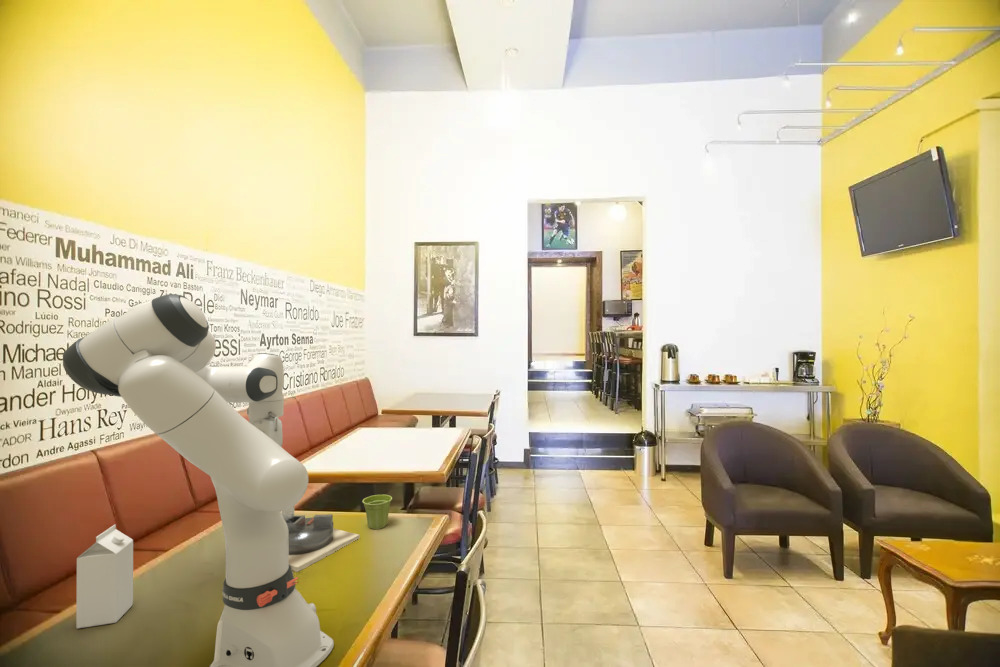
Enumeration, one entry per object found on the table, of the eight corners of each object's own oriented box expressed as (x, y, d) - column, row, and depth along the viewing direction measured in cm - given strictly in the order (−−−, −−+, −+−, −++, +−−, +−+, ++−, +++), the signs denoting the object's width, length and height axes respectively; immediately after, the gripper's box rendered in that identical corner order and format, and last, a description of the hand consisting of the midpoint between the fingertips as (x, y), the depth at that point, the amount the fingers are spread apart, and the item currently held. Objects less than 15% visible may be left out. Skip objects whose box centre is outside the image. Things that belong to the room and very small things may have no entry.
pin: (290, 530, 129) (290, 503, 130) (279, 530, 130) (279, 503, 130) (296, 526, 133) (296, 499, 133) (285, 526, 133) (285, 499, 133)
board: (359, 538, 136) (359, 534, 136) (297, 571, 117) (297, 566, 117) (310, 526, 146) (310, 522, 146) (245, 554, 127) (245, 549, 127)
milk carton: (75, 629, 94) (76, 539, 94) (96, 610, 101) (96, 526, 101) (115, 623, 96) (116, 535, 96) (133, 605, 103) (133, 522, 103)
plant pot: (360, 523, 148) (360, 497, 148) (389, 518, 152) (389, 492, 152) (364, 533, 140) (364, 506, 140) (394, 528, 144) (394, 501, 144)
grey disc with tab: (321, 553, 124) (320, 526, 124) (263, 554, 123) (263, 527, 124) (341, 529, 140) (340, 505, 140) (290, 530, 139) (290, 506, 140)
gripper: (289, 413, 120) (288, 464, 119) (268, 406, 135) (268, 452, 135) (263, 415, 116) (262, 468, 115) (245, 408, 131) (244, 455, 131)
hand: (265, 459), depth 125 cm, fingers open, 8 cm apart
